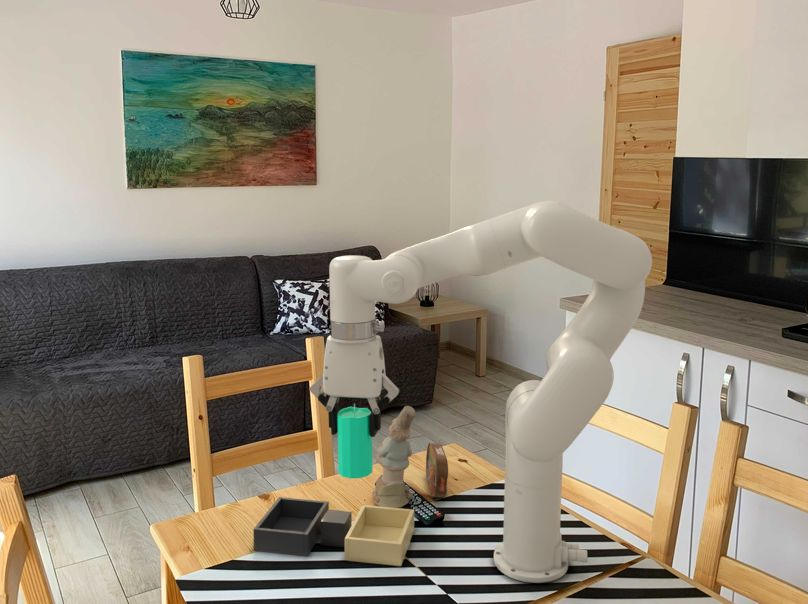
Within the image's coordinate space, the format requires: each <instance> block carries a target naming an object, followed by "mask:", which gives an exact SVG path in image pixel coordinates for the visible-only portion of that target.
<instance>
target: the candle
mask: <svg viewBox="0 0 808 604" xmlns="http://www.w3.org/2000/svg"><path fill="white" fill-rule="evenodd" d="M371 412H372V410H370V409H369V408H368V407H356V403H353V406H348V407H344V408H342V409H340V411H338V414H337V424H338V432H337V466H338V467H337V468H338V470H337V471H338V473H337V474H338V475H340V477H342V478H346V479H363V478H365V477H368V476H370V475H371V474H372V473H373V437H371V436H370V414H371Z"/></svg>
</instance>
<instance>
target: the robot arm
mask: <svg viewBox="0 0 808 604" xmlns="http://www.w3.org/2000/svg"><path fill="white" fill-rule="evenodd" d="M541 257H542V258H544V259H546V260H549V261H550V262H553V263H555V264H557V265H559V266H561V267H563V268H565V269H567V270H570V271H572V272H574V273H576V274H580V275H581V276H584V277H587V278H589V279H591V280H592V285H591V289H590V291H589V294H588V295H587V297H586V299H585V301H584V302H583V303H582V304H581V307H580V308H579V310H578V311H577V312H576V314H575V315H574V316H573V318H572V319H571V320H570V321H569V323H568V324H567V325H566V326H565V328H564V329H563V331H562V332H561V333H559V335H558V337H557V338H556V339H555V340H554V342H553V343H552V344H551V346H550V347H549V348H548V350H547V354H546V357H545V358H546V359H545V364H546V365H545V366H546V369H547V372H546V374H545V375H544V376H543V378H542V379H541V380H538V379H530V380H525V381H523V382H521V383H519V384H517V385H516V386H515V387H514V388H513V389H512V390H511V391H510V393H509V395H508V397H507V400H506V403H505V414H504V416H505V417H504V418H505V419H504V420H505V421H504V423H505V456H504V457H505V458H504V459H505V460H504V491H503V492H504V493H503V494H504V495H503V501H504V502H503V527H502V529H503V533H502V534H503V535H502V542H501V543H500V544H498V545H497V546H496V547H495V549H494V551H493V563H494V565H495V567H496V568H497V570H498V571H500V572H501V573H502V574H504V575H505V576H507V577H508V578H511V579H514V580H516V581H520V582H524V583H528V584H529V583H530V584H532V583H533V584H545V583H549V582H553V581H557V580H559V579H561V578H562V577H563V576H564V575H565V574H566V573H567V571H568V569H569V561H573V562H577V563H588V550H587V549H580V543H576V542H566V541H565V540H563V539H562V532H561V517H562V490H563V489H562V487H563V466H564V465H563V464H564V452H566V451H567V449H569V448H570V446H571V445H572V444H573V443H574V442H575V440H576V439H577V438H578V437H579V435H580V434H581V433H582V431H583V430H584V429H585V428H586V427H587V425H588V424H589V423H590V422H591V420H592V419H593V418H594V416H595V415H596V414H597V413H598V411H599V410H600V409H601V407H602V406H603V405H604V404H605V402H606V400H607V399H608V397H609V395H610V393H611V391H612V388H613V384H614V378H615V377H614V376H615V375H614V367H613V364H612V362H611V359H612V357H613V356H614V354H615V353H616V351H617V350H618V349H619V348H620V346H621V345H622V343H623V342H624V340H625V339H626V337H627V336H628V335H629V333H630V332H631V330H632V329H633V327H634V326H635V324H636V322H637V320H638V319H639V317H640V314H641V312H642V309H643V307H644V301H645V295H646V280H647V278H648V276H649V275H650V273H651V270H652V266H653V256H652V253H651V250H650V248H649V246H648V245H647V243H646V242H645V241H644V240H643V239H641V238H640V237H639V236H637V235H634V234H632V233H631V232H629V231H626V230H625V229H621V228H617V227H615V226H612V225H610V224H608V223H605V222H603V221H600V220H598V219H596V218H593V217H591V216H589V215H586V214H585V213H582V212H580V211H578V210H576V209H574V208H572V207H570V206H569V205H567V204H564V203H563V202H560V201H557V200H553V199H551V200H550V199H549V200H548V199H547V200H541V201H538V202H535V203H532V204H529V205H526V206H523V207H520V208H518V209H515V210H511V211H509V212H506V213H503V214H500V215H496V216H494V217H491V218H489V219H486V220H482V221H479V222H477V223H474V224H470V225H468V226H464V227H462V228H459V229H457V230H455V231H453V232H450V233H447V234H444V235H441V236H438V237H434V238H432V239H429V240H426V241H423V242H420V243H417V244H414V245H412V246H408V247H405V248H403V249H399V250H397V251H394V252H392V253H390V254H389V255H387V256H386V257H385V258H383V259H377V260H376V259H375V260H373V259H372V258H371V257H368V256H365V255H341V256H337V257H334V258H332V260H331V261H330V263H329V268H328V271H329V275H328V276H329V279H328V280H329V318H330V319H329V320H330V322H329V323H330V335H328V336H327V338H326V342H325V347H324V356H323V366H322V367H323V368H322V375H321V376H320V377H319V378H317V380H315V381H314V383H313V384H312V385H311V386H310V387H309V388H308V389H309V391H310V393H312V395H313V396H315V398H317V400H318V401H319V403H321V405H322V406H323V407H325V410H326V412H328V428H329V429H331V435H332V436H335V435H338V424H337V414H338V411H340V410H341V407H340V406H339V404H338V403H339V400H340V398H357V399H367V402H368V404H369V406H370V409H371V414H370V436H371V437H372V438H375V437H376V435H377V433H378V431H381V428H382V413H381V411H382V410H384V409H385V408H386V406H388V405H389V403H391V402H392V401H393V400H394V399H395V398H396V397H397V396H398V395H399V394H400V389H399V387H397V385H395V383H393V382H392V380H390V378H389V377H388V376H387V375H386V364H385V354H384V347H383V342H382V338H381V336H380V335H376V334H377V333H383V332H384V330H385V324H384V323H380V322H378V321H377V318H376V302H378V303H385V304H392V305H397V304H398V305H399V304H403V303H406V302H408V301H410V300H411V299H412V298H414V296H415V295H416V293H417V291H418V289H420V288H424V287H426V286H427V287H428V286H430V285H432V284H436V283H438V282H442V281H445V280H448V279H452V278H456V277H463V276H464V277H465V276H469V277H470V276H472V277H481V276H488V275H491V274H494V273H497V272H501V271H503V270H506V269H508V268H511V267H514V266H517V265H520V264H523V263H527V262H529V261H533V260H536V259H539V258H541ZM383 390H386V391H387V394H386V395H384V396H383V397H382V398H381V397H380V395H381V393H382V391H383Z"/></svg>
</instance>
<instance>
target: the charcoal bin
mask: <svg viewBox="0 0 808 604" xmlns="http://www.w3.org/2000/svg"><path fill="white" fill-rule="evenodd" d="M327 510H330V502H329V501H325V500H315V499H304V498H295V497H294V498H292V497H281V496H279V497H278V498H277V499H276V500H275V502H274V503H272V505H271V506H270V508H269V509H268V511H266V513H265V514H264V515H263V516H262V518H261V519H260V520H259V522H258V523H257V524H256V525H255V527H254V528H253V551H255V552H263V553H264V552H265V553H272V554H273V553H275V554H283V555H292V556H300V557H308V556H309V555H310V553H311V552H312V550H313V548H314V547H315V545H316V543H318V540H319V539H320V538H321V520H322V518H323V517H324V515H325V514H326V512H327Z"/></svg>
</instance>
